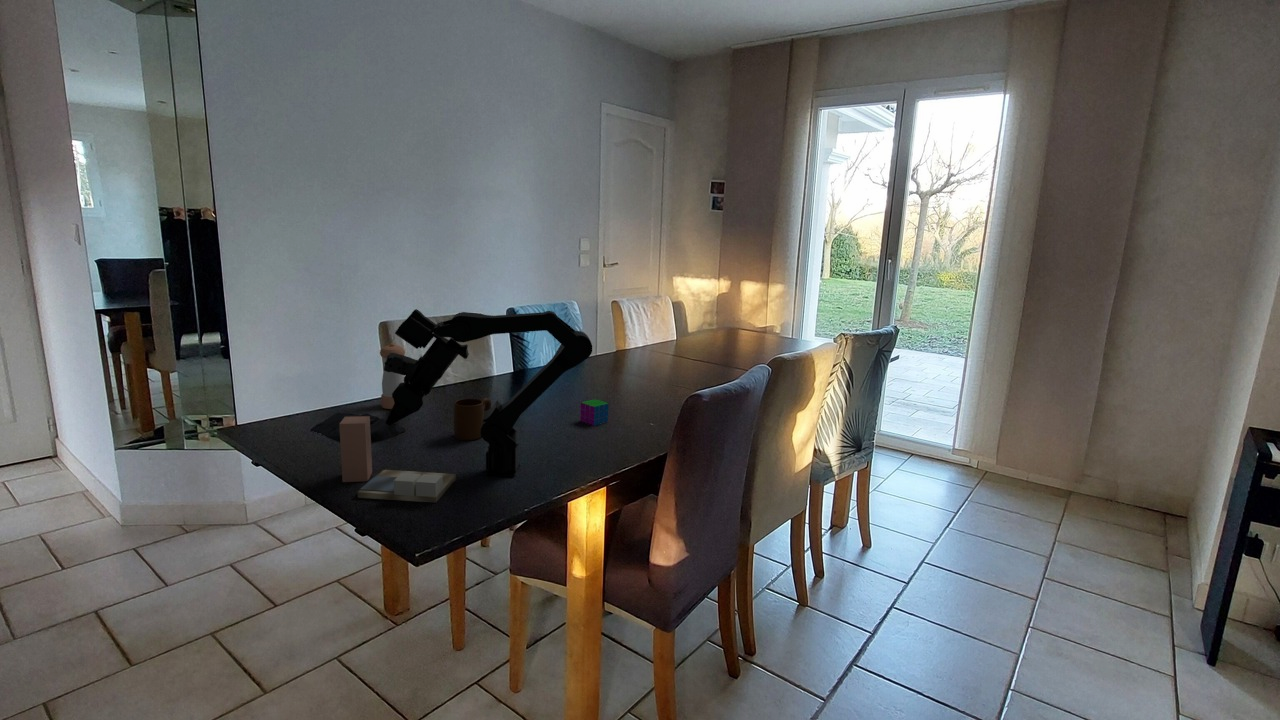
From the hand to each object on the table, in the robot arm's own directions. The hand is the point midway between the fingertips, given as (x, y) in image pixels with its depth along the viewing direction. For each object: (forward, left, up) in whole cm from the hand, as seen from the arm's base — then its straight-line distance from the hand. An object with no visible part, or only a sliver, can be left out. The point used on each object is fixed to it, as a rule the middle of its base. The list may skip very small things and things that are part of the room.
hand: (392, 417), depth 136 cm
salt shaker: (+22, -50, -13) cm, 56 cm away
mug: (-9, -29, -13) cm, 33 cm away
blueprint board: (-6, +7, -13) cm, 16 cm away
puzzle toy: (-39, -46, -13) cm, 62 cm away
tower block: (+7, +3, -13) cm, 15 cm away
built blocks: (-10, +11, -12) cm, 19 cm away
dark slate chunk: (+21, -26, -14) cm, 36 cm away
